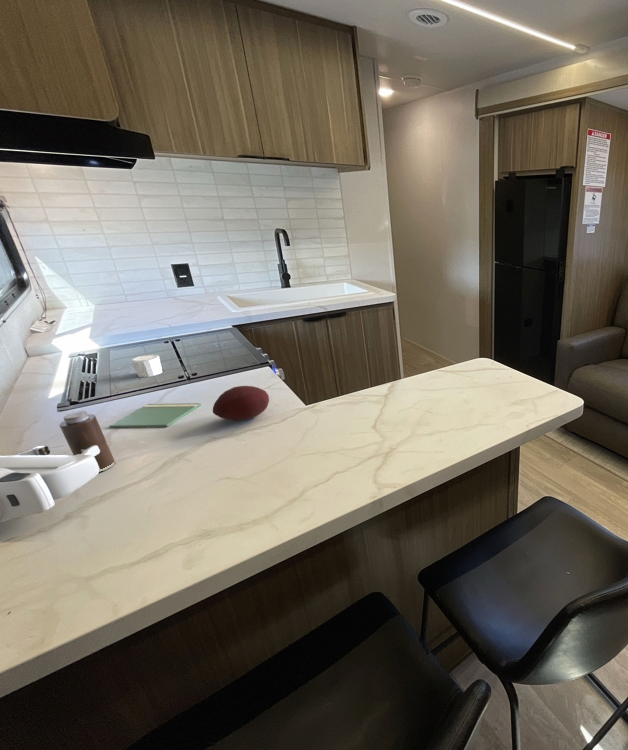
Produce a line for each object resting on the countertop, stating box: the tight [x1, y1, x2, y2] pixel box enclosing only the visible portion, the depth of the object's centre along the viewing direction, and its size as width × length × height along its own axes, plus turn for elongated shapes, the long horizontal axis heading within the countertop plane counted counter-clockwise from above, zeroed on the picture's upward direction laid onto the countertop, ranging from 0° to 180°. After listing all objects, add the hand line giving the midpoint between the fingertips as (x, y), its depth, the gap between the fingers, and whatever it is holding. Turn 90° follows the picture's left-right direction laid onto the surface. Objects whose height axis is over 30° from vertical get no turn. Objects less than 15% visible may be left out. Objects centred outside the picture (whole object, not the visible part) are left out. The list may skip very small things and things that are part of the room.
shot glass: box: [130, 354, 163, 378], centre depth 126 cm, size 7×7×7 cm
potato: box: [212, 385, 270, 421], centre depth 100 cm, size 12×11×8 cm
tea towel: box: [108, 402, 202, 429], centre depth 103 cm, size 14×12×1 cm
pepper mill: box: [58, 410, 116, 469], centre depth 79 cm, size 5×5×12 cm
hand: (70, 448), depth 76 cm, fingers open, 8 cm apart
